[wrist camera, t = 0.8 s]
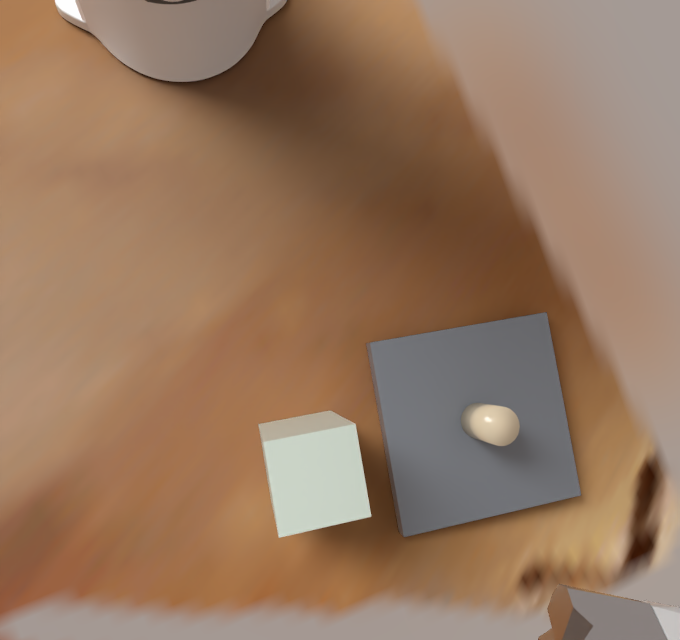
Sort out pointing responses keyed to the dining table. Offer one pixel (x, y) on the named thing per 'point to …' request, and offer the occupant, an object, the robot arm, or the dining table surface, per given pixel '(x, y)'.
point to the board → (435, 429)
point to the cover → (314, 472)
